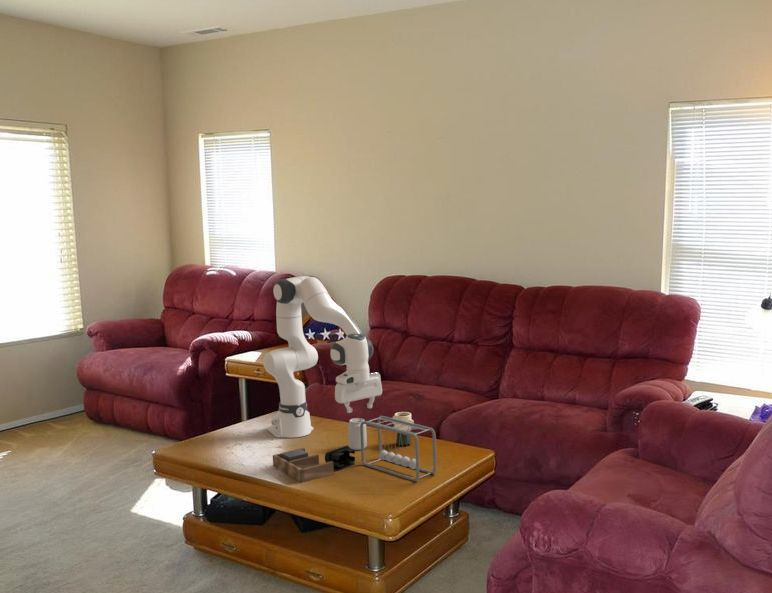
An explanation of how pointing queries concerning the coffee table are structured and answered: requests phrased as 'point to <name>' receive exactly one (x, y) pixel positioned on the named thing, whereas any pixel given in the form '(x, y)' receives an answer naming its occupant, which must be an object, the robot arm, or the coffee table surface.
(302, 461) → the walnut organizer
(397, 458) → the newton's cradle
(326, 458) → the end cap
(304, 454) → the block
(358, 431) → the can
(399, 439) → the character mug
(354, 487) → the coffee table surface
